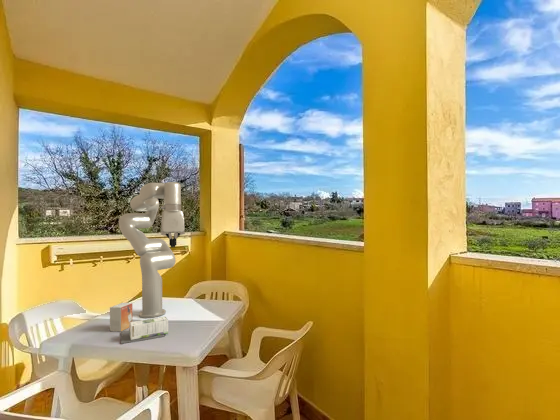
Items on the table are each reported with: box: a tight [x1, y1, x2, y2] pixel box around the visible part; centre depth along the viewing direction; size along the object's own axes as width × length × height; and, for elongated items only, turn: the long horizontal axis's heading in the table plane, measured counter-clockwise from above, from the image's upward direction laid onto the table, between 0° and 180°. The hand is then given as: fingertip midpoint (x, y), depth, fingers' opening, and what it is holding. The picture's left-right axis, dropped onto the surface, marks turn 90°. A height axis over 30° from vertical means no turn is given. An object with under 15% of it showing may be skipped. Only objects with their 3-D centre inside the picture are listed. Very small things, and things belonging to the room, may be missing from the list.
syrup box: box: [128, 316, 169, 340], centre depth 132 cm, size 6×6×14 cm
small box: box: [109, 302, 133, 333], centre depth 142 cm, size 8×6×10 cm
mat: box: [120, 330, 166, 345], centre depth 134 cm, size 14×16×1 cm
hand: (173, 247), depth 151 cm, fingers closed
